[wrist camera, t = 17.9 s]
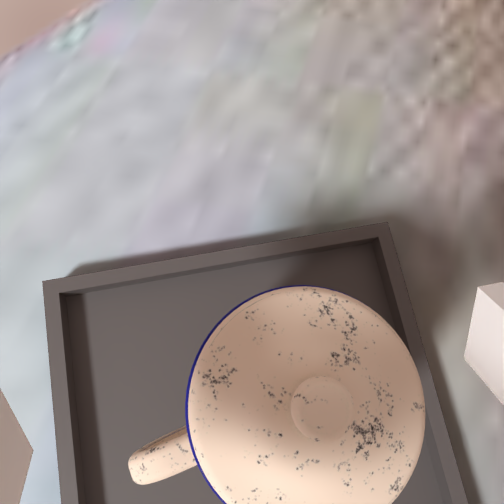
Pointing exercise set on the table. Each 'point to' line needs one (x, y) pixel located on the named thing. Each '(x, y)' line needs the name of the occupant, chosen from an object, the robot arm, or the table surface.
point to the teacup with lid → (297, 405)
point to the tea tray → (187, 346)
